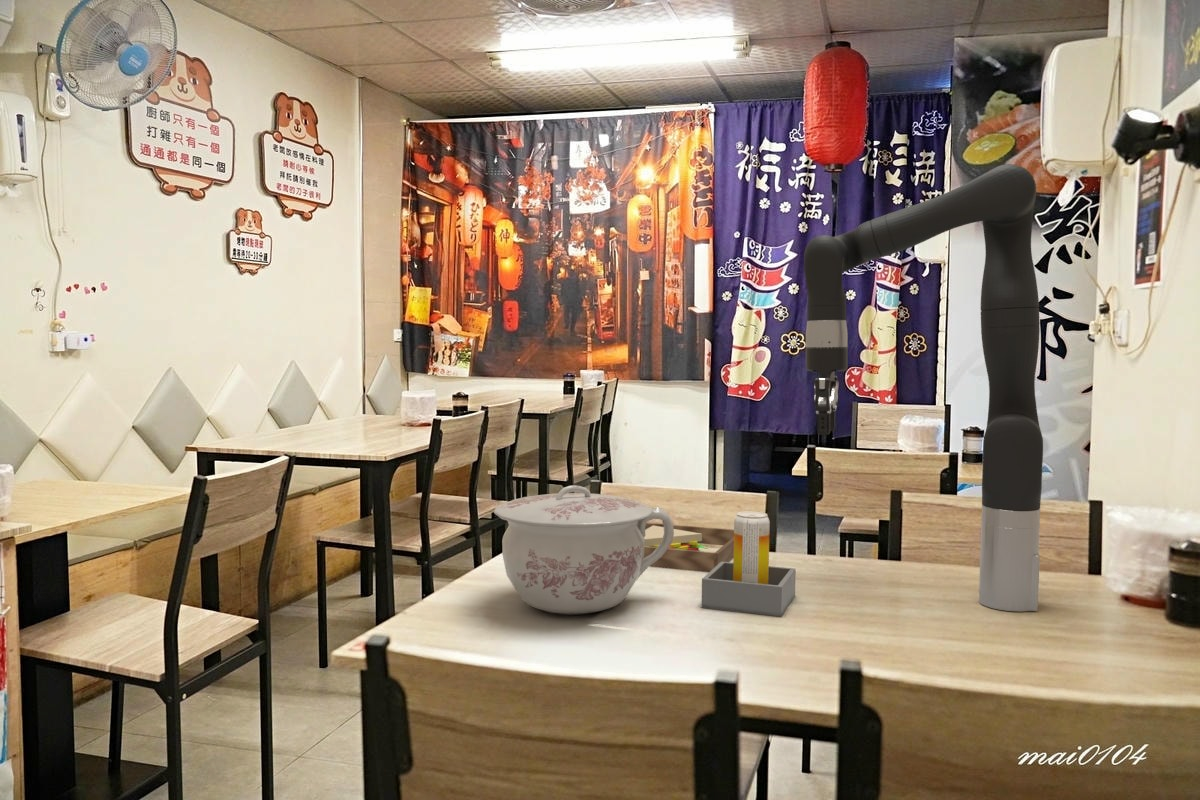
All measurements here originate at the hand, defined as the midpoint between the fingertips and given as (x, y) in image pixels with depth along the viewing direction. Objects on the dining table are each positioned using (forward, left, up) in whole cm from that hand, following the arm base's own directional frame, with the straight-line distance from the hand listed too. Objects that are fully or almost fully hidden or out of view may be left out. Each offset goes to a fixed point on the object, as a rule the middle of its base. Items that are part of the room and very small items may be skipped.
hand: (826, 432), depth 172 cm
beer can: (+10, +17, -28) cm, 35 cm away
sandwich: (+37, -11, -29) cm, 49 cm away
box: (+10, +17, -29) cm, 35 cm away
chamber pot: (+38, +30, -29) cm, 56 cm away
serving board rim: (+32, -12, -29) cm, 45 cm away
